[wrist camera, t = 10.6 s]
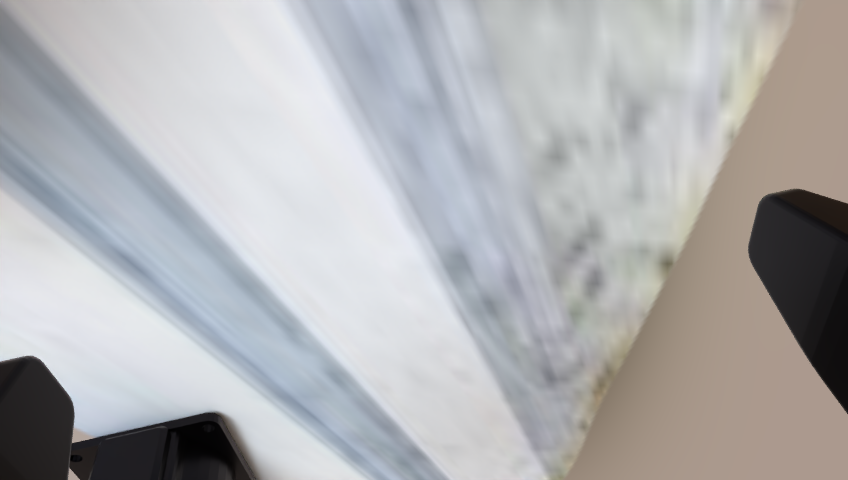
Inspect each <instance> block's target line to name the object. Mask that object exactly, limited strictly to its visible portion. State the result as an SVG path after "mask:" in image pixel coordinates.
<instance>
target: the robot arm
mask: <svg viewBox="0 0 848 480" xmlns="http://www.w3.org/2000/svg"><path fill="white" fill-rule="evenodd" d="M748 253H749V258H750V260H751V263H752V265H753V267H754V269H755V271H756V272H757V274H758V276H759V277H760V279H761V281H762V282H763V284H764V286H765V288H766V289H767V291H768V293H769V295H770V296H771V298H772V300H773V301H774V303H775V305H776V306H777V308H778V310H779V312H780V313H781V315H782V317H783V318H784V320H785V322H786V324H787V325H788V327H789V329H790V330H791V332H792V333H793V335H794V337H795V339H796V340H797V342H798V344H799V346H800V347H801V349H802V350H803V352H804V353H805V355H806V356H807V358H808V360H809V361H810V363H811V364H812V366H813V367H814V368H815V370H816V372H817V373H818V374H819V376H820V377H821V379H822V380H823V381H824V383H825V384H826V385H827V387H828V388H829V389H830V391H831V392H832V394H833V395H834V396H835V397H836V399H837V400H838V402H839V403H840V404H841V406H842V407H843V408H844V410H845V411H846V412H847V414H848V204H847V203H844V202H840V201H838V200H834V199H831V198H828V197H825V196H821V195H818V194H815V193H812V192H809V191H805V190H802V189H790V190H785V191H781V192H776V193H772V194H768V195H766V196H764V197H763V198H762V200H761V201H760V202H759V204H758V208H757V212H756V216H755V220H754V224H753V228H752V232H751V237H750V241H749V246H748ZM73 426H74V406H73V403H72V400H71V398H70V396H69V395H68V394H67V392H66V391H65V390H64V388H63V387H62V386H61V385H60V383H59V382H58V381H57V380H56V378H55V377H54V376H53V374H52V373H51V372H50V371H49V369H48V368H47V367H46V366H45V364H44V363H43V362H42V361H41V360H40V359H38V358H36V357H34V356H23V357H19V358H14V359H10V360H5V361H1V362H0V480H68V473H69V468H70V469H71V470H72V471H73V472H74V473H75V474H76V475H77V477H78V478H79V479H80V480H256V479H255V477H254V475H253V474H252V472H251V470H250V468H249V466H248V465H247V463H246V461H245V459H244V458H243V456H242V454H241V452H240V450H239V449H238V447H237V445H236V443H235V442H234V440H233V438H232V436H231V434H230V433H229V431H228V429H227V427H226V426H225V424H224V422H223V420H222V419H221V417H220V416H219V415H217V414H215V413H204V414H200V415H195V416H191V417H187V418H182V419H178V420H173V421H169V422H164V423H160V424H156V425H151V426H147V427H142V428H138V429H133V430H129V431H125V432H120V433H116V434H111V435H107V436H102V437H98V438H94V439H89V440H85V441H81V442H76V443H72V435H73Z"/></svg>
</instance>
